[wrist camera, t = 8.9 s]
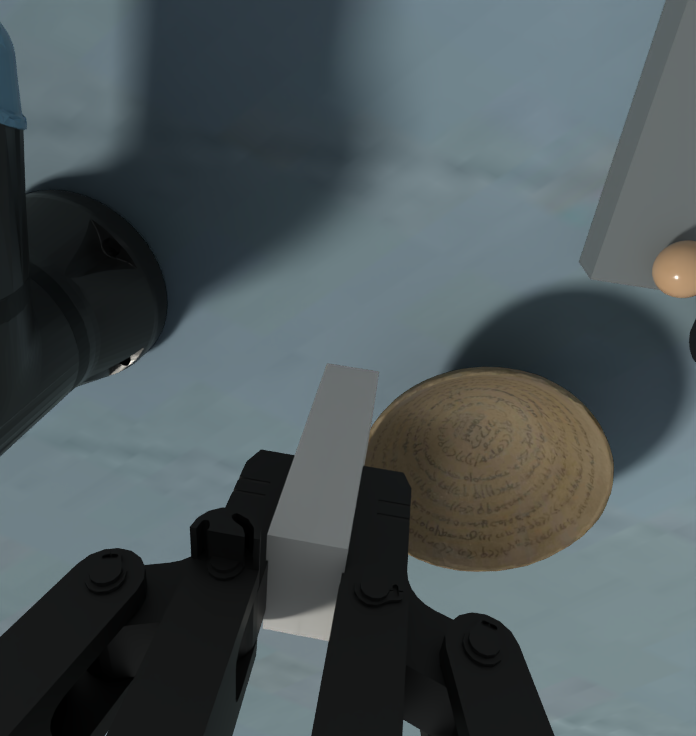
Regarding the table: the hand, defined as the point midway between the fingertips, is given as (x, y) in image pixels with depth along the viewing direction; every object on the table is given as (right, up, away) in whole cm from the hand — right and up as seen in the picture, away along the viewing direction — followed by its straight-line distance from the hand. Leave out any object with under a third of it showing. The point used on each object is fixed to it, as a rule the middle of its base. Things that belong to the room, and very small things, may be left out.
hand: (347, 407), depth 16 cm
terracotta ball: (+20, +8, +19) cm, 29 cm away
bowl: (+11, -4, +31) cm, 33 cm away
